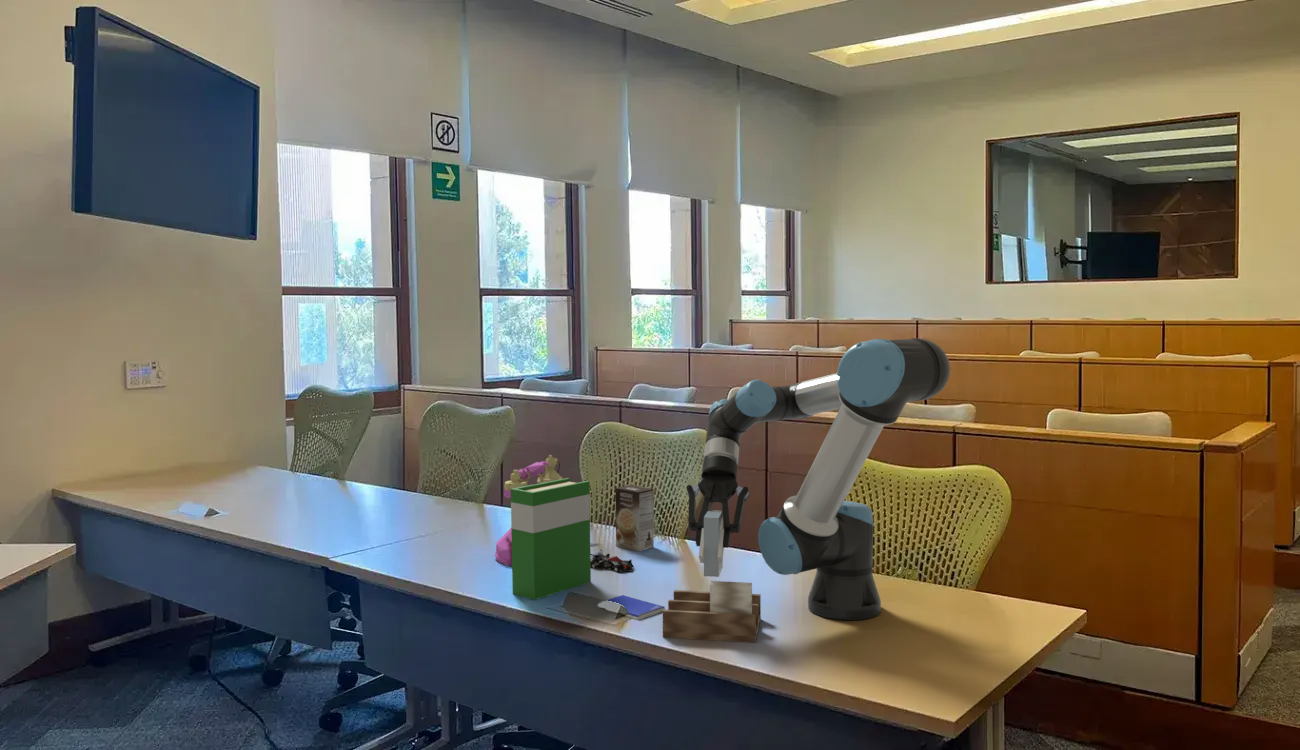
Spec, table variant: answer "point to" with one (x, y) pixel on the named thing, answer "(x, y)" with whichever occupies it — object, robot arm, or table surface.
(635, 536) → the coffee box
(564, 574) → the hardback book
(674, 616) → the rack
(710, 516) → the grey upright pillar
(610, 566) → the toy car
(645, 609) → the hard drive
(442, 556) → the table surface
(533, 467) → the telephone
